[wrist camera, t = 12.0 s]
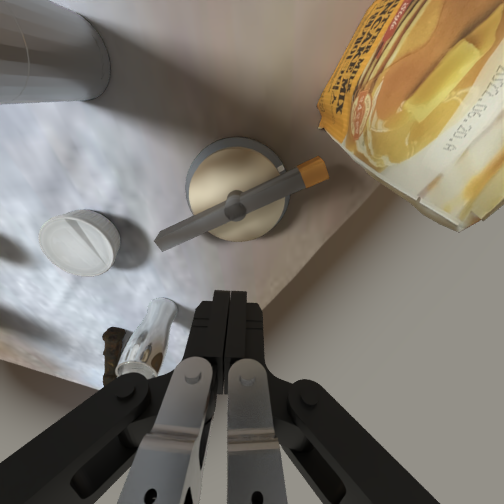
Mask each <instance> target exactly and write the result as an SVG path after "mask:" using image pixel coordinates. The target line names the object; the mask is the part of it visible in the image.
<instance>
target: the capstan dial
mask: <svg viewBox="0 0 504 504" xmlns="http://www.w3.org/2000/svg"><path fill="white" fill-rule="evenodd" d="M326 179H329V175H328V172H327V169H326V166H325V163H324V161H323V160H322V159H321V158H320V157H319V156H317V157H315V158H313V159H311V160H308V161H306V162H304V163H302V164H300V165H298V166H297V167H296V168H294V169H292V170H289V171H287V172H285V173H283V174H281V175H280V174H279V172H278V170H277V169H276V167H275V166H274V164H273V163H272V162H271V161H270V160H269V159H268V158H267V157H265V156H264V155H262V154H261V153H259V152H257V151H255V150H253V149H249V148H245V147H227V148H224V149H220V150H218V151H216V152H214V153H212V154H211V155H209V156H208V157H207V158H205V159H204V160H203V162H202V163H201V164H200V165H199V167H198V168H197V170H196V171H195V173H194V175H193V177H192V179H191V182H190V187H189V201H190V206H191V209H192V212H193V214H194V216H192V217H190V218H188V219H185V220H183V221H181V222H179V223H177V224H175V225H173V226H171V227H168V228H166V229H164V230H162V231H160V233H159V234H158V236H157V237H156V239H155V240H154V242H155V243H156V244H157V246H158V247H159V248H160V249H161V251H162V252H163V251H165V250H168V249H170V248H172V247H174V246H176V245H179V244H181V243H183V242H185V241H188V240H190V239H192V238H194V237H197V236H199V235H201V234H203V233H206V232H209V233H211V234H212V235H214V236H216V237H218V238H221V239H223V240H227V241H234V242H243V241H249V240H253V239H256V238H258V237H261V236H263V235H264V234H266V233H267V232H268V231H269V230H271V229H272V228H273V227H274V226H275V224H276V223H277V222H278V220H279V218H280V216H281V214H282V212H283V209H284V204H285V197H286V196H288V195H290V194H293V193H295V192H297V191H299V190H302V189H304V188H309V187H311V186H313V185H315V184H317V183H320V182H322V181H324V180H326Z"/></svg>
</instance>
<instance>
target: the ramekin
mask: <svg viewBox="0 0 504 504" xmlns="http://www.w3.org/2000/svg"><path fill="white" fill-rule="evenodd" d="M39 243H40V247H41V249H42V251H43V252H44V254H45V255H46V257H47V258H48V259H49V260H50V261H51V262H52V263H53V264H55V265H56V266H57V267H59V268H60V269H62V270H63V271H65V272H68V273H71V274H74V275H78V276H85V277H92V276H97V275H101V274H103V273H105V272H106V271H108V270H109V269H110V268H111V266H112V265H113V264H114V262H115V259H116V255H117V252H118V250H119V247H120V236H119V233H118V231H117V229H116V227H115V226H114V225H113V223H112V222H111V221H109V220H108V219H107V218H106V217H104V216H103V215H101V214H99V213H97V212H94V211H90V210H75V211H71V212H68V213H66V214H63V215H58V216H55V217H53V218H51V219H49V220H48V221H47V222H45V223H44V224H43V226H42V227H41V229H40V231H39Z"/></svg>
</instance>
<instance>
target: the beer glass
mask: <svg viewBox="0 0 504 504" xmlns="http://www.w3.org/2000/svg"><path fill="white" fill-rule="evenodd" d="M177 313H178V308H177V306H176V304H175V303H174V302H173V301H171V300H169V299H166V298H156V299H153V300H152V301H151V302H150V303H149V305H148V309H147V313H146V316H145V318H144V319H143V321H142V322H141V324H140V325H139V326H138V327H137V329H136V330H135V331H134V333H133V334H132V336H131V337H130V339H129V340H128V342H127V344H126V346H125V348H124V350H123V352H122V355H121V357H120V360H119V362H118V365H117V367H116V369H115V373H116V375H117V377H119V376H121V375H123V374H126V373H130V372H136V373H140V374H142V375H144V376H145V377H146V379H151V378H154V377H157V376H158V374H159V371H160V369H161V367H162V364H163V362H164V359H165V356H166V353H167V349H168V343H169V335H170V328H171V324H172V322H173V320H174V319H175V317H176V315H177Z"/></svg>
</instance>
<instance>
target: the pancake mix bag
mask: <svg viewBox="0 0 504 504" xmlns="http://www.w3.org/2000/svg"><path fill="white" fill-rule="evenodd" d="M317 108H318V110H319V112H320V114H321V116H322V118H321V121H320V124H319V127H318V129H322V128H324V129H325V130H326V132H327V133H328V134H329V135H330V136H331V138H332V139H333V140H334V141H336V142H337V143H338V144H339V145H340V146H341V147H342V148H343V149H344V151H345V152H346V153H347V154H348V155H349V156H350V157H351V158H352V159H353V160H354V161H355V162H356V163H358V164H359V165H361V166H362V167H363V168H364V170H365V171H366V172H367V174H368V175H370V176H371V177H373V178H374V179H375V180H377V181H378V182H380V183H381V184H383V185H384V186H386V187H387V188H389V189H390V190H391V191H393V192H394V193H396V194H397V195H399V196H400V197H402V198H404V199H405V200H407V201H408V202H410V203H411V204H412V205H413V206H414V207H415V208H416V209H417V210H419V211H420V212H421V213H422V214H423V215H425V216H426V217H428V218H430V219H432V220H433V221H435V222H437V223H439V224H440V225H443V226H445V227H447V228H450V229H452V230H454V231H456V232H458V233H459V232H461V231H463V230H464V229H466V228H468V227H470V226H471V225H473V224H475V223H477V222H478V221H480V220H482V221H484V220H485V219H487V218H488V217H489V216H490V215H492V214H493V213H494V212H495V211H497V210H498V209H499V208H500V207H501V206H503V205H504V0H375V2H374V3H373V4H372V5H371V6H370V7H369V9H368V10H367V11H366V13H365V15H364V17H363V18H362V20H361V22H360V24H359V26H358V28H357V30H356V32H355V33H354V35H353V37H352V39H351V41H350V43H349V45H348V47H347V49H346V50H345V52H344V54H343V56H342V58H341V60H340V62H339V64H338V66H337V67H336V69H335V71H334V73H333V75H332V76H331V78H330V80H329V82H328V83H327V85H326V87H325V89H324V91H323V92H322V94H321V97H320V99H319V101H318V104H317Z"/></svg>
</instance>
